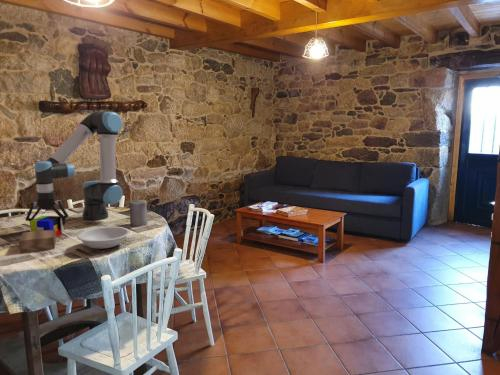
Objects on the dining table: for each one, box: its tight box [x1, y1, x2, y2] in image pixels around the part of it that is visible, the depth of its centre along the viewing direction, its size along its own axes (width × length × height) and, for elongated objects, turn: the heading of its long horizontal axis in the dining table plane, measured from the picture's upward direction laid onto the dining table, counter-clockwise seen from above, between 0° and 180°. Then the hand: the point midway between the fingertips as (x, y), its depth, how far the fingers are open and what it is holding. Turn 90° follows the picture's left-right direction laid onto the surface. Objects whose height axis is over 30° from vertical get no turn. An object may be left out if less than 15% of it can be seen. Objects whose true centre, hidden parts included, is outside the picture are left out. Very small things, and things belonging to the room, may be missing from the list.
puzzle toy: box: [29, 215, 63, 238], centre depth 198 cm, size 10×10×10 cm
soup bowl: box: [76, 226, 131, 250], centre depth 185 cm, size 24×24×7 cm
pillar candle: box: [128, 199, 148, 227], centre depth 223 cm, size 10×10×15 cm
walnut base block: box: [19, 230, 57, 253], centre depth 185 cm, size 14×14×6 cm
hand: (48, 232), depth 201 cm, fingers closed on puzzle toy, 12 cm apart
